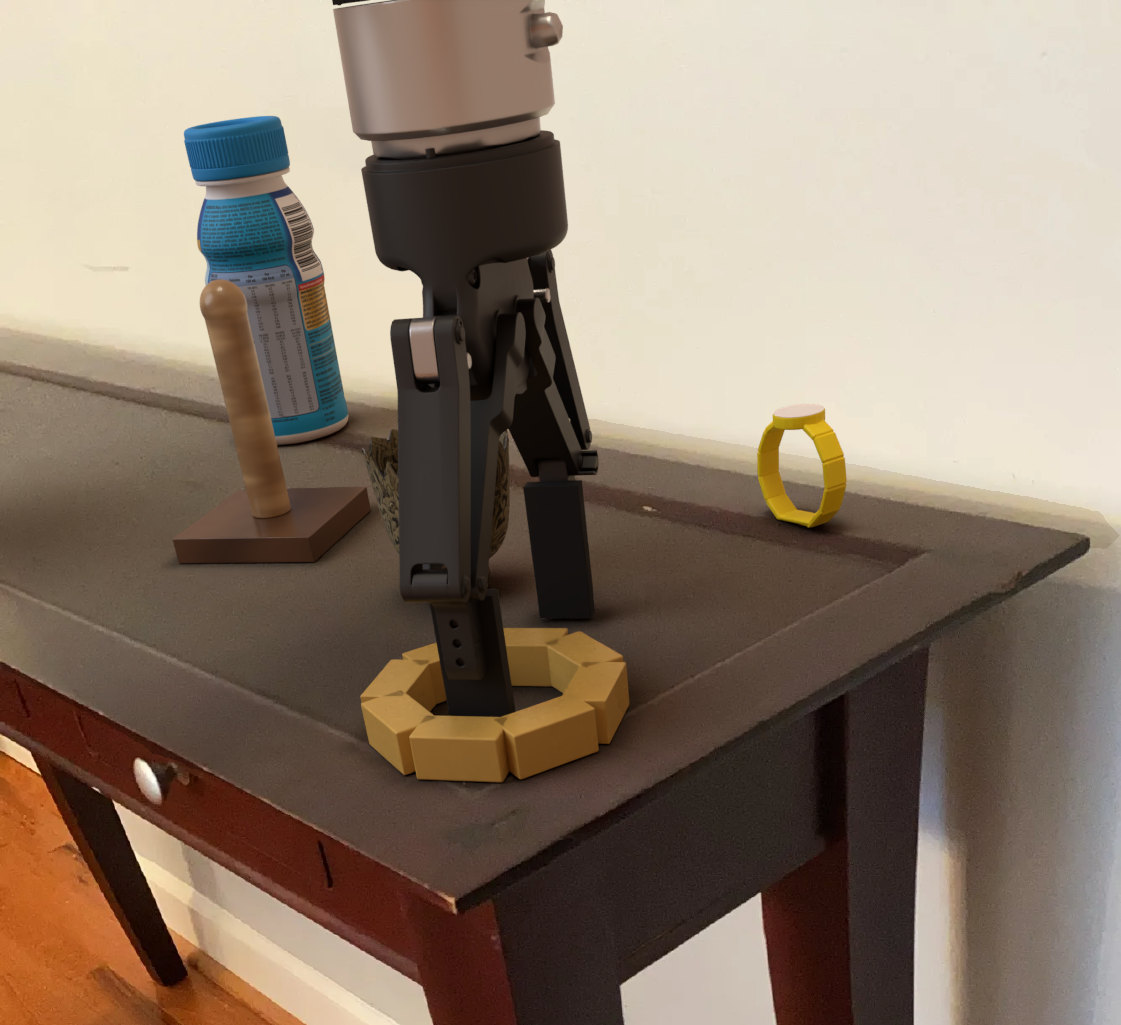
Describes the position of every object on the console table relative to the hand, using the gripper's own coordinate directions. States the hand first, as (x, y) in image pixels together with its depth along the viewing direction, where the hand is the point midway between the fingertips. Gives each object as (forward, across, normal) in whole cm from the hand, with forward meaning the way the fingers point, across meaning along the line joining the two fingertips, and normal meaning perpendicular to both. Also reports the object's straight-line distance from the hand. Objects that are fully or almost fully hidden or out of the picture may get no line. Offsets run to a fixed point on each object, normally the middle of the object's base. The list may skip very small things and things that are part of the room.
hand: (530, 673), depth 63 cm
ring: (0, -4, 0) cm, 5 cm away
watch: (0, +20, -10) cm, 23 cm away
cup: (0, +10, +7) cm, 13 cm away
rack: (0, +20, +22) cm, 29 cm away
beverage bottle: (0, +42, +31) cm, 53 cm away
